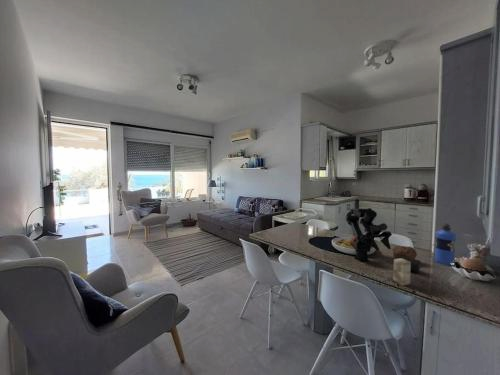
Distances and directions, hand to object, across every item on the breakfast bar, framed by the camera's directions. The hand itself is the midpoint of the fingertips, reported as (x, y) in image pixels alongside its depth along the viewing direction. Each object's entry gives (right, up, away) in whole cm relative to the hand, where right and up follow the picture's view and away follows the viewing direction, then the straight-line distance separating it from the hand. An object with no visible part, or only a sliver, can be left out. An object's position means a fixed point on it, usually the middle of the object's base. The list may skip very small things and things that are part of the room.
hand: (384, 249), depth 116 cm
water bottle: (+48, -13, +15) cm, 52 cm away
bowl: (+2, -12, +40) cm, 42 cm away
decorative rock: (+24, -13, +18) cm, 33 cm away
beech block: (+3, -14, -9) cm, 17 cm away
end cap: (+18, -14, +5) cm, 23 cm away
